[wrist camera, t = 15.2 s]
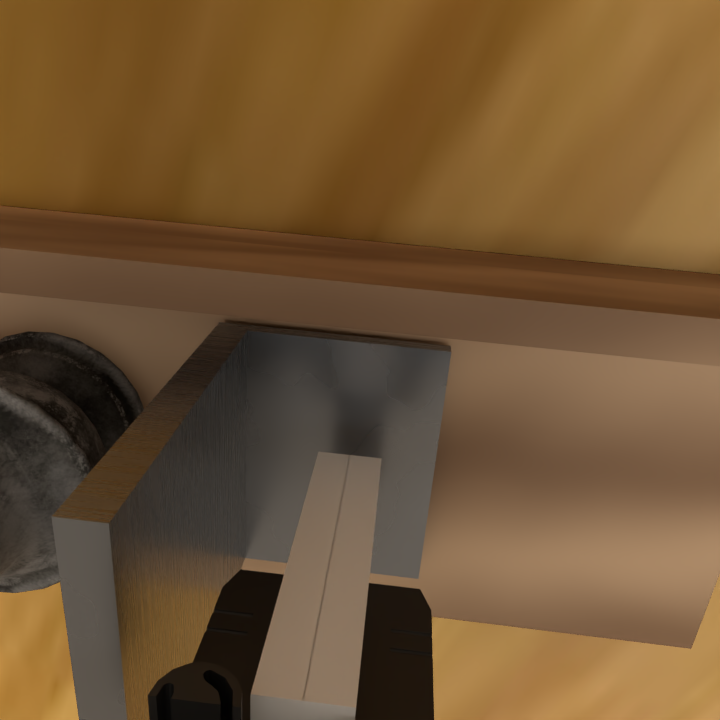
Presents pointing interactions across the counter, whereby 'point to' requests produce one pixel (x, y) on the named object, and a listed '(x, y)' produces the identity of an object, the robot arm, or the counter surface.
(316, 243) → the wooden book rack
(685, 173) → the counter surface
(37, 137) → the counter surface
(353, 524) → the robot arm
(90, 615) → the bookend
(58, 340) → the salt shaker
